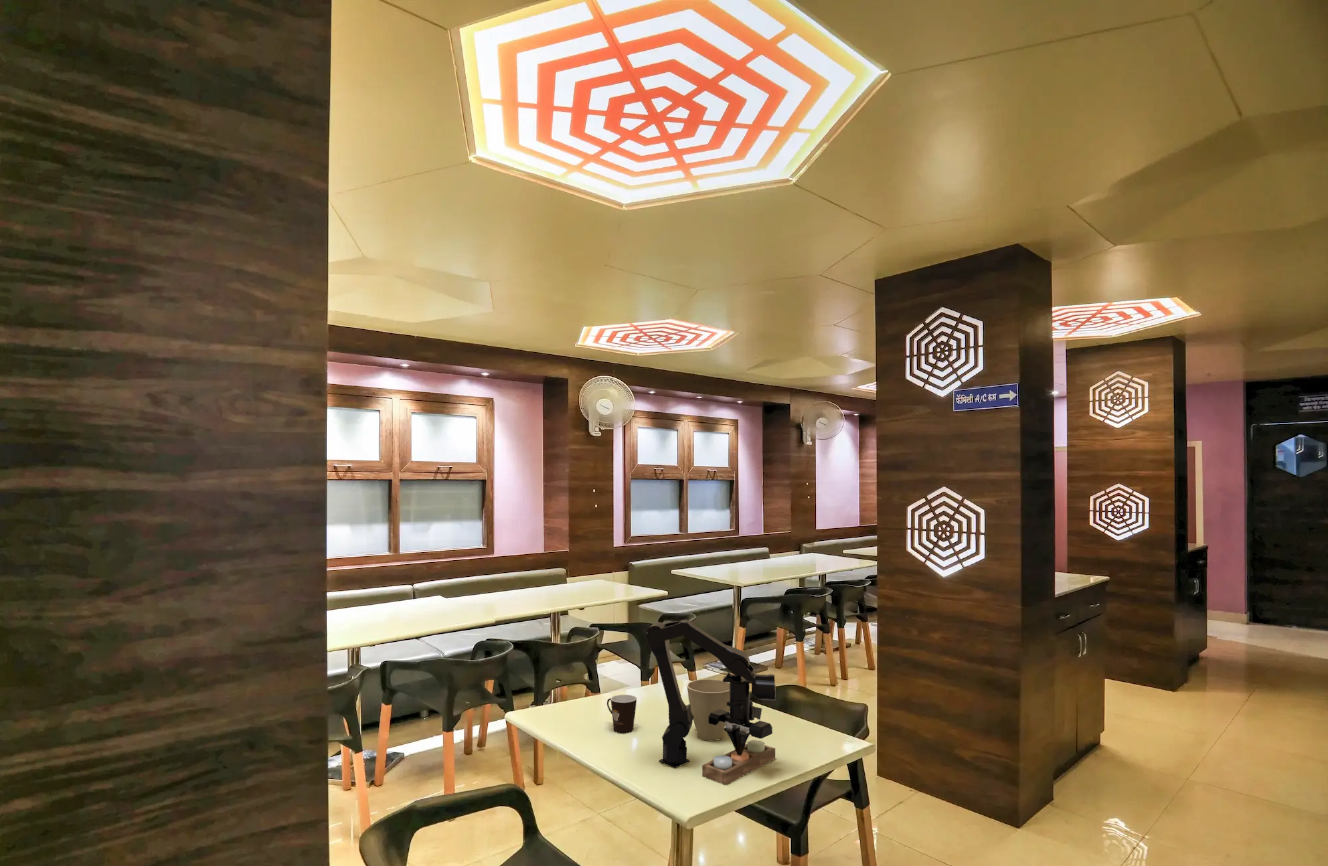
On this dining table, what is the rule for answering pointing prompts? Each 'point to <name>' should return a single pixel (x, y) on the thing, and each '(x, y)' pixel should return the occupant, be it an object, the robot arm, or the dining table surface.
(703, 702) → the plant pot
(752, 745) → the sage button
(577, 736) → the dining table surface
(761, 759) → the brown wooden flat tray
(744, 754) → the terracotta button
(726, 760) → the slate button
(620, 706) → the coffee mug
